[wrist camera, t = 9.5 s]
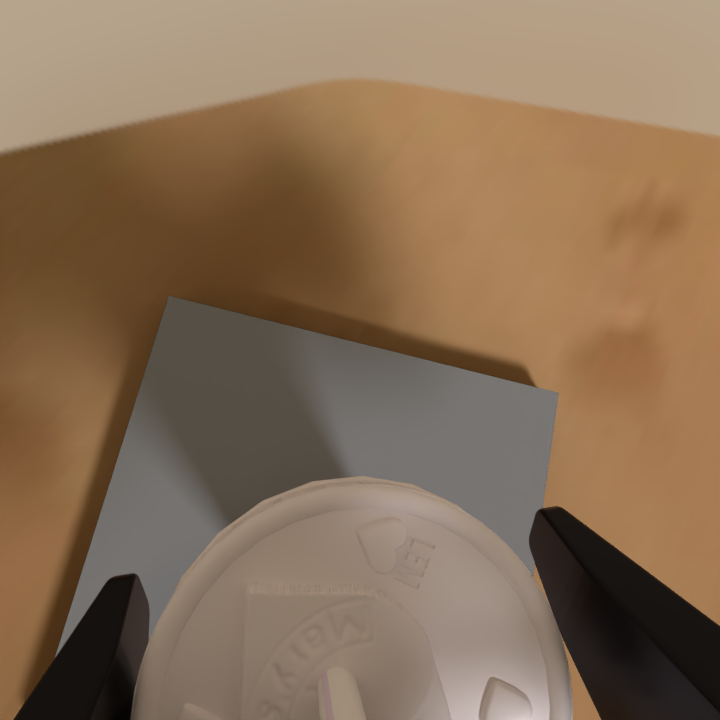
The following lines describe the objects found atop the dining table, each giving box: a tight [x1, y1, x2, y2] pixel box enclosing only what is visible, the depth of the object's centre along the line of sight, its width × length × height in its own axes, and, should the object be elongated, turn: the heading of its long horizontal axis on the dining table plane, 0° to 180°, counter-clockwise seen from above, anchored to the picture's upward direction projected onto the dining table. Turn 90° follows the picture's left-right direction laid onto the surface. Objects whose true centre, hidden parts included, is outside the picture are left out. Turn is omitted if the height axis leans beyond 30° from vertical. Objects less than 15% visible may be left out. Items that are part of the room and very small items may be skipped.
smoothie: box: [131, 476, 573, 720], centre depth 10 cm, size 6×6×14 cm
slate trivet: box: [55, 296, 559, 657], centre depth 18 cm, size 14×14×1 cm
